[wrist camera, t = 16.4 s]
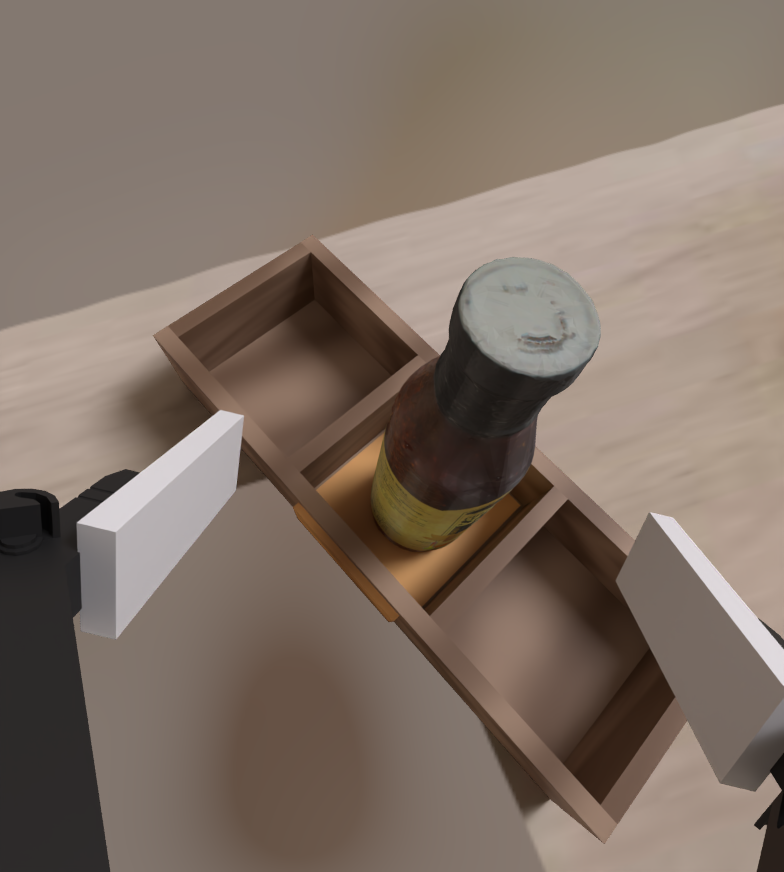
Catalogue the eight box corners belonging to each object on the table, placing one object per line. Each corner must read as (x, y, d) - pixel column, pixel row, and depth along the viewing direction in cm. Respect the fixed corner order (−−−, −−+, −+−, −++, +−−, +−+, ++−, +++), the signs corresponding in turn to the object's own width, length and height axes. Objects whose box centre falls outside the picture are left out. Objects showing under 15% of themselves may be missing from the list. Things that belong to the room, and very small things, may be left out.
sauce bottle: (443, 572, 30) (609, 485, 11) (351, 528, 30) (368, 375, 12) (480, 479, 32) (667, 283, 14) (394, 439, 33) (464, 198, 14)
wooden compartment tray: (668, 638, 31) (740, 640, 25) (546, 805, 27) (598, 851, 21) (316, 292, 38) (312, 234, 32) (178, 386, 34) (146, 339, 28)
